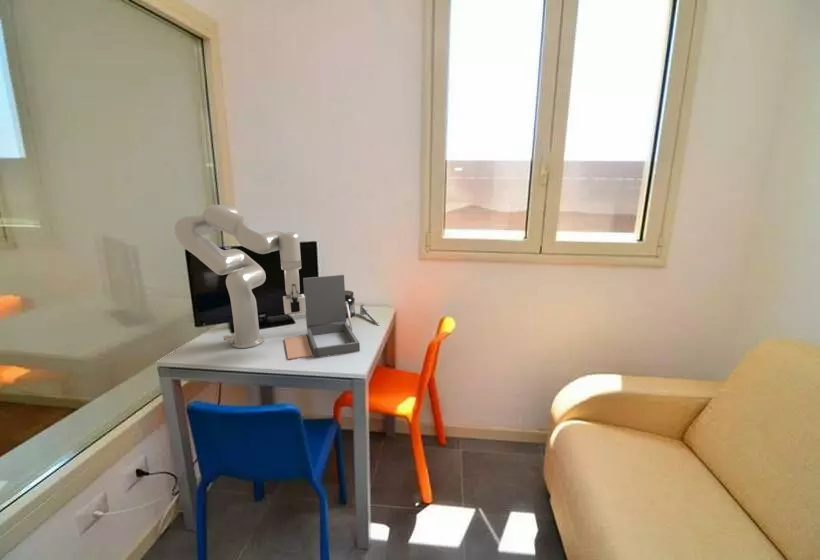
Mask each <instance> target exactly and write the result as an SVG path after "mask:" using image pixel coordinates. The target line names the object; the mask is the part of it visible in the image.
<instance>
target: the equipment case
mask: <svg viewBox="0 0 820 560" xmlns="http://www.w3.org/2000/svg"><path fill="white" fill-rule="evenodd" d="M302 279H303V283H302V284H303V294H304V296H305V304H306V312H305V321H306V323H305V324H306V331H307V333H306V334H307V339H308V342H309V345H310V348H311V351H312V354H313V355H314V358H315V359H317V358H323V356H324V357H329V356H328V355H330V356H336V355H335V354H337V355H343V354H342V353H344V354H349V353H355V352H360V351H361V350H360V349H361V348H360V347H361V346H360V341H359V339H358V338H357V337H356V336H355V333H354V332H353V324H352V319H351V318H352V317H350V312H349V306H348V302H345V290H346V287H345V275H344V274H336V275H323V276H312V277H303V278H302ZM346 308H347V313H348V318H346ZM347 319H348V323H349V325H348V323H347ZM339 331H341V332H346V333H345V334H346V335H347V337H348V340H349V341H350V342H348V343H340V344H333V345H326V346H320V347H318V346H317V344H316V340H315V338H314V336H317V335H324V334H332V332H334V333H339ZM316 357H317V358H316Z"/></svg>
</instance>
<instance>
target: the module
mask: <svg viewBox="0 0 820 560" xmlns="http://www.w3.org/2000/svg"><path fill="white" fill-rule="evenodd" d="M292 297H293V296H292ZM292 300H293V299H292ZM298 300H299V307H300V311H299V312H291V296H290V295H289V296H288V295H283V296H282V301H283V311H284V314H285V315H290V314H299V313H306V304H305V296H304V293H301V294H299V295H298Z"/></svg>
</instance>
